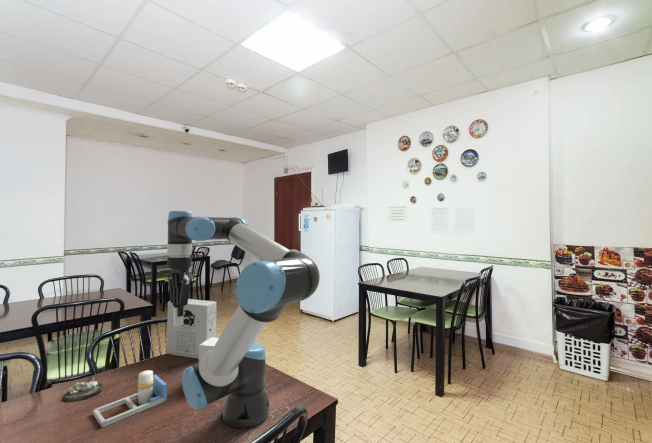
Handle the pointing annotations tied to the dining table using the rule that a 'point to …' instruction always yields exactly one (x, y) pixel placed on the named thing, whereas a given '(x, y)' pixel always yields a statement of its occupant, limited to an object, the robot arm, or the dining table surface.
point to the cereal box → (191, 328)
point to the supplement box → (207, 346)
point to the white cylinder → (145, 387)
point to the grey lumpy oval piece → (83, 391)
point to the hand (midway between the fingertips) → (178, 325)
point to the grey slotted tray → (158, 390)
